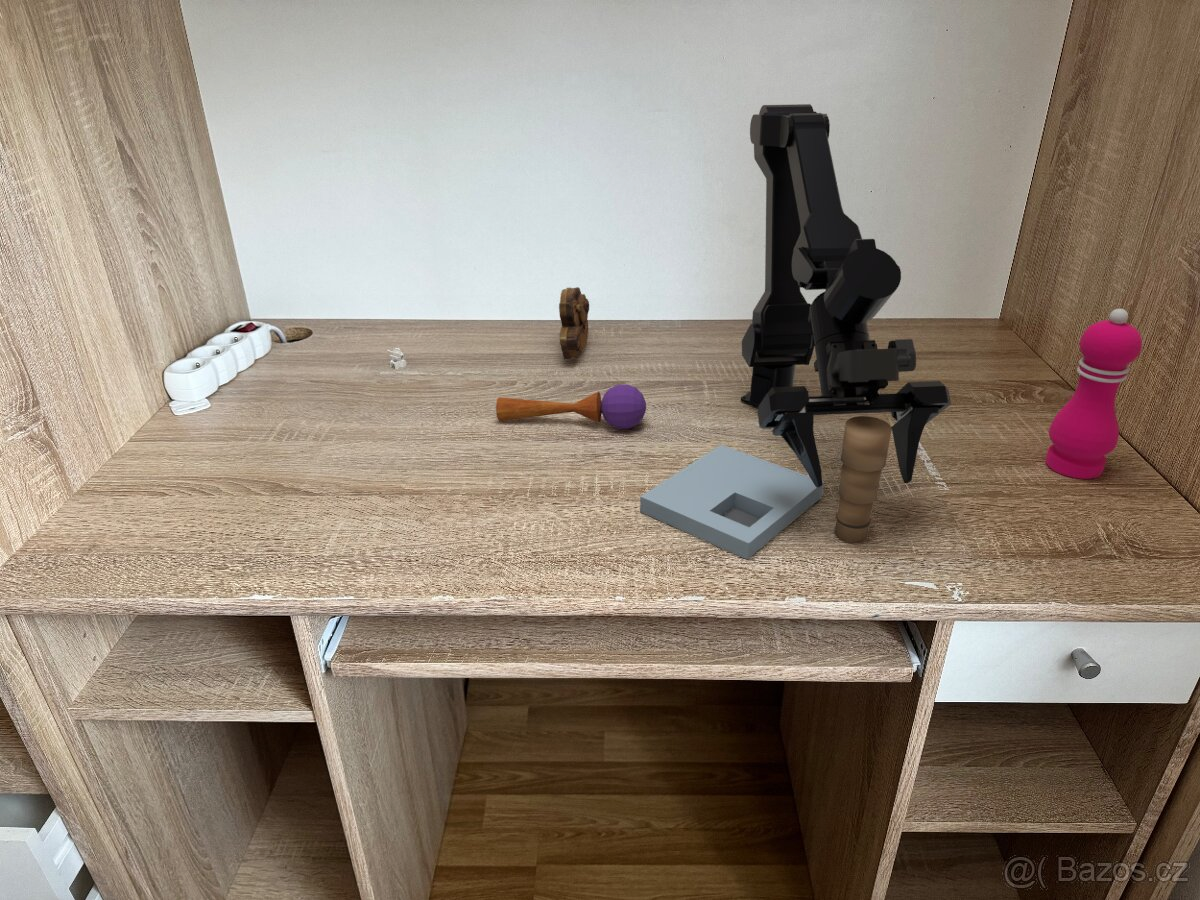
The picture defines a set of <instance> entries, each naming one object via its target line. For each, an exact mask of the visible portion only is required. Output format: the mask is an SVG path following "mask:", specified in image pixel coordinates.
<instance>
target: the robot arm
mask: <svg viewBox="0 0 1200 900" xmlns="http://www.w3.org/2000/svg"><path fill="white" fill-rule="evenodd" d="M749 124H750V125H749V139H750V142H751V144H753V155H754V156H753V158H754V161H755V163H756V164H757V165H758V168H759V169H760V171H761V172H762V174H763V176H764V177H765V182H766V183H765V185H766V187H765V188H766V190H765V191H766V192H765V194H766V196H765V255H764V256H765V258H764V259H765V261H764V262H765V265H764V267H765V268H764V272H765V273H764V278H765V279H764V292H763V294H762V295H761V297H760V299H759V300H758V302H757V304H756V305H755V307H754V308H753V310H752V319H751V323H750V324H749V326H748V328H747V330H746V332H745V333H744V335H743V337H742V339H741V356H742V357H743V360H744V362H745V363H746V365H747V367H748V368H752V373H751V379H750V380H751V383H750V391H749V392H748V393H746V394H744V395H742V396H741V397H740V402H742V403H745V404H748V405H752V406H755V407H758V408H757V417H758V426H759V428H760V429H763V430H767V429H768V430H770V429H771V430H772V431H771V432H772V435H773V436H779V437H781V438H782V439H783V441H785V443H786V444H787V445H788V447H789V448H790V449H791V450H792V451H793V452H794V454H795V455H796V457H797V458H798V461H799V462H800V463H801V465H802V466H803V468H804V470H805V471H806V473H807V476H809V477H810V478H811V480H812V482H813V483H814V485H815V486H816V487H821V486H822V481H823V475H822V474H823V472H822V467H821V461H820V457H819V453H818V447H817V443H816V438H815V434H814V433H815V431H814V417H815V416H822V415H846V414H847V415H849V414H871V413H872V414H873V413H877V414H878V413H891V417H892V418H893V419H894V420H895V421H896V423H894V424H892V426H891V427H892V430H891V434H892V437H893V442H894V448H895V453H896V458H897V463H898V468H899V469H898V470H899V472H900V476H901V479H902V481H903V484H910V483H911V482H912V480H913V476H914V470H915V465H916V461H917V455H918V450H919V449H918V448H919V445H920V441H921V437H922V434H923V431H924V428H925V426H926V425H927V424H928V423H930V421H932V420H933V419H934V418H936V417H937V416H939V414H941V413H942V412H944V411H945V410H947V408H948V407H951V405H952V403H951V402H952V400H951V395H950V391H949V389H948V388H947V386H946V385H945V384H944V383H942V381H940V380H933V381H932V380H931V381H928V380H927V381H908V382H907V383H906V384H904V386H902V387H901V388H900V389H899V390H898V391H897V392H896V393H880V390H884V389H886V388H887V387H888V386H889V382H898V381H900V373H902V372H904V373H907V372H914V371H915V369H916V367H917V354H916V350H915V349H916V348H915V345H914V341H913V339H912V338H909V339H908V338H906V339H903V338H902V339H894V340H890V341H888V344H887V345H888V346H887V348H878V344H877V342H876V340H875V339H871V337H870V332H869V326H868V322H869V321H871V320H873V319H874V317H875V316H877V314H878V313H879V312H880V310H881V309H883V307H884V306H885V305H886V303H887V302H888V301H889V300H890V298H891V297H892V296H893V295H894V293H895V292H896V291H897V290H898V287H899V286H900V284H901V280H902V269H901V267H900V265H898V264H897V262H896V260H895V259H894V258H893V257H892V256H891V255H890V254H888V252H885V251H884V250H881V249H879V248H877V245H876V244H877V243H876V239H875V238H863V237H862V234H861V231H860V228H859V225H858V224H857V223H856V222H854V221H853V220H852V218H850V217H849V216H848V215H847V214H846V213H845V212H844V209H843V206H842V201H841V197H840V191H839V185H838V181H837V177H836V173H835V168H834V162H833V161H834V160H833V156H832V152H831V146H830V142H829V138H830V130H831V129H830V126H831V124H830V119H829V116H828V113H822V112H817V111H815V110H814V108H813V105H811V104H810V103H808V104H806V103H804V104H803V103H802V104H799V103H798V104H763V105H762V106H761V107H760V109H759V111H758V114H757V113H756V114H753V115H752V117H751V119H750V123H749ZM801 288H803V289H804V290H806V291H814V290H821V291H822V290H824V291H823V292H821V293H819V294H818V295H817V296H816V297H815V298H814V300H813V301H812V303H808V301H807V300H806V298H805V297H804V295H803V293H802V292H801ZM814 349H815V357H816V359H815V361H814V362H813V369H814V372H815V373H817V372H818V379H819V385H820V392H821V395H820V396H809V391H808V388H807V387H806V386H805V385H802V386H800V385H799V386H798V385H796V386H795V385H794V379H795V370H796V366H803V365H804V366H809V365H810V362H811V360H812V356H813V353H814Z"/></svg>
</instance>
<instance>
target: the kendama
mask: <svg viewBox="0 0 1200 900" xmlns="http://www.w3.org/2000/svg"><path fill="white" fill-rule="evenodd" d="M495 405H496V406H495V411H496V412H495V413H496V417H497V420H498V421H499V422H507V421H514V420H522V419H527V418H528V419H529V418H536V417H543V416H544V417H545V416H552V415H559V414H568V413H575V414H577V415H580V416H582V417H585V418H586V419H589V420H592V421H593V422H596V423H598V424H600V423H601V421H602V417H603V419H604V420H605V422H607V424H608V425H610V427H614V428H616V429H619V430H629V429H631V428H633V427H636V426H637V425H638V424H639V423H640V422H641V421H642V420H643V419H644V417H645V414H646V411H647V401H646V400H645V397H644V394H643V393H642V392H641V391H640V390H639V389H638V388H637V387H636V386H633V385H630V384H629V383H627V384H623V383H622V384H616V385H614V386H612V387H609V389H608V390H607V391H605V393H604V394H603V397H602V396H601V392H600V391H596V392H595V393H593V394H591V395H588V396H586V397H584V398H582V399H580V400H578V401H577V402H574V403H567V402H557V401H547V400H546V401H545V400H534V399H526V398H525V399H524V398H512V397H501V396H499V397H498V398H497V399H496V403H495Z"/></svg>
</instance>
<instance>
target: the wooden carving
mask: <svg viewBox="0 0 1200 900" xmlns="http://www.w3.org/2000/svg"><path fill="white" fill-rule="evenodd" d="M558 309H559V310H558V311H559V319H560V322H561V328H560V331H559V344H560V348H561V352H562V357H563V360H571V359H578V358H579V352H581V351H582V352H583V351H584V350H585V349H586V346H587V342H588V337H589V335H588V334H589V320H588V317H589V311H590V301H589V299H588V298H587V296H586V295H585V294H584V293H582V292H581V288H580V287H566V288H565V289H562V290H561V292H560V299H559V303H558Z"/></svg>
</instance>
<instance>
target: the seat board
mask: <svg viewBox="0 0 1200 900" xmlns="http://www.w3.org/2000/svg"><path fill="white" fill-rule="evenodd" d="M824 485H825V481H823V480H822V486H821V487H816V486H815V485H814V483H813V482H812V480H811V478H810V477H809V475H808V474H807V475H806V474H804V473H801V472H798V471H795V470H793V469H789V468H787V467H783V466H781V465H779V464H775V463H773V462H770V461H767V460H765V459H762V458H759V457H757V456H753V455H751V454H748V453H745V452H742V451H739V450H738V449H733V448H731V447H729V446H726V445H723V444H719V445H718V446H716V448H714V449H712V450H710V451H709V452H707V453H706V454H704V455H703V456H701V457H699V458H698V459H697V460H695V461H694V462H692V463H691V464H689V465H687V466H685V467H683V469H681V470H679V471H678V472H676V473H674V474H673V475H671V476H670V477H668V478H667V479H665V480H663V481H662V482H661V483H659V484H658V485H656V486H654V487H653V488H651V489H650V490H648V491H647V492H645V493H644V494H642V495H641V496H640V501H639V502H640V503H639V504H640V505H639V512H640V513H642V514H645V515H647V516H649V517H651V518H653V519H655V520H658V521H660V522H662V523H664V524H666V525H668V526H670V527H674V528H675V529H678V530H680V531H683V532H685V533H687V534H690V535H691V536H693V537H696V538H698V539H701V540H702V541H705V542H706V543H709V544H711V545H714V546H716V547H718V548H721V549H723V550H725V551H727V552H730V553H732V554H734V555H735V556H738V557H741V558H743V559H746V560H748V559H750V558H751V557H753V555H754V554H756V553H757V552H758V551H759V550H761V549H762V548H763V547H764V546H765V545H767V544H768V543H769V542H770V541H771V540H773V539H774V538H775V537H776V536H777V535H779V534H780V533H781V532H782V531H783V530H784V529H785V528H787V527H788V526H790V524H791V523H792V522H793V521H795V520H796V519H797V518H799V517H800V516H801V515H802V514H804V513H805V512H806V511H807V510H808V509H809V508H811V506H813V505H814V504H815V503H816V502H817V501H819V500H820V499H821V498H823V494H824V493H823V492H824Z"/></svg>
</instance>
